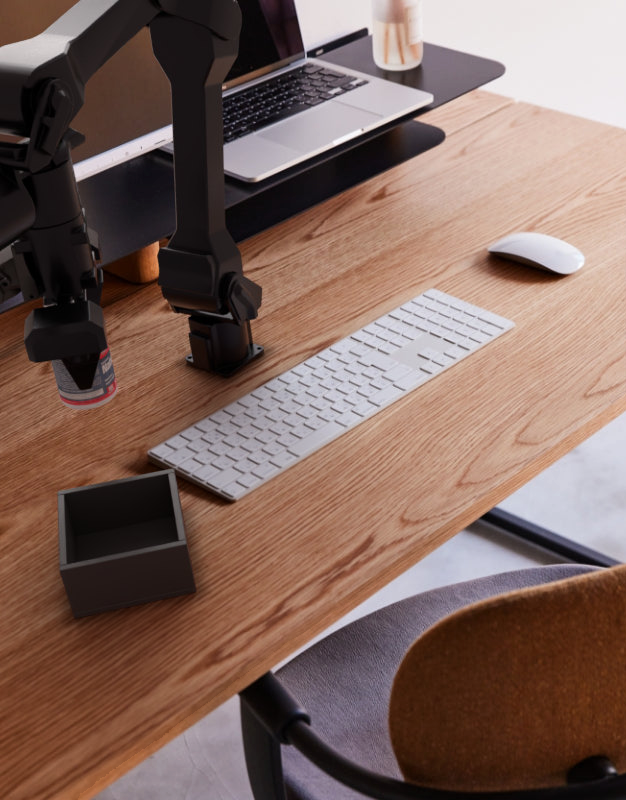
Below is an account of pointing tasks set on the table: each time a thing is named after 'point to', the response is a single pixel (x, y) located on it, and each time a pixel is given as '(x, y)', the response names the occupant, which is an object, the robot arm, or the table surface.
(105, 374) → the pill bottle
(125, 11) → the robot arm
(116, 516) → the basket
